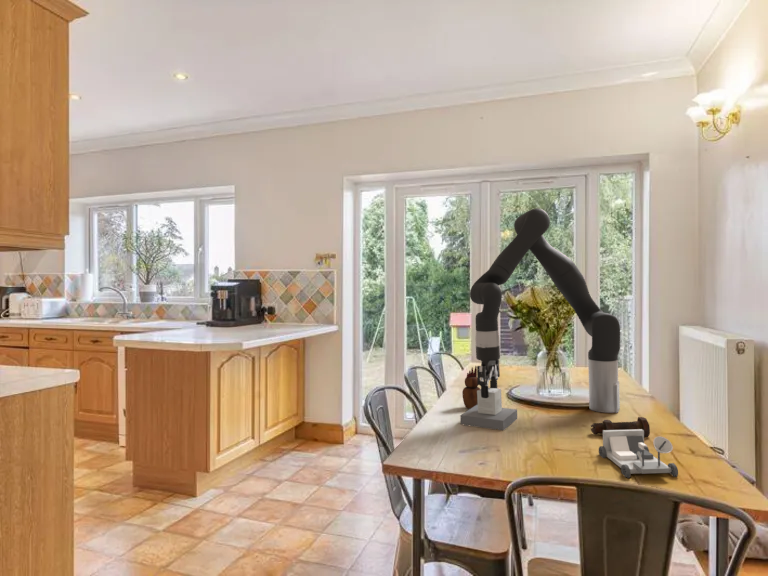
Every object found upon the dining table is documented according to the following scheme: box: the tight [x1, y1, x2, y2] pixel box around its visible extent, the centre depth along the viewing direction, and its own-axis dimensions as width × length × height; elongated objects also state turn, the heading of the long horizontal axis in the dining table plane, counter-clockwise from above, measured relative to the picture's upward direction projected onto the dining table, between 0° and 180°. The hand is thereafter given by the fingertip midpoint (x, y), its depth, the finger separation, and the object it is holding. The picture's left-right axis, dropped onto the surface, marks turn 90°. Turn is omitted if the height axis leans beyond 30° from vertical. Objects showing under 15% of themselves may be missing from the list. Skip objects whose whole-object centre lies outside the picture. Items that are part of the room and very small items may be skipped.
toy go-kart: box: [598, 429, 679, 479], centre depth 117 cm, size 18×10×12 cm
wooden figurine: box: [461, 365, 481, 410], centre depth 174 cm, size 7×6×15 cm
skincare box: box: [477, 387, 503, 415], centre depth 157 cm, size 6×6×7 cm
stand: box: [459, 405, 518, 431], centre depth 157 cm, size 14×14×3 cm
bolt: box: [590, 416, 651, 438], centre depth 140 cm, size 6×5×15 cm
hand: (489, 394), depth 157 cm, fingers open, 8 cm apart
